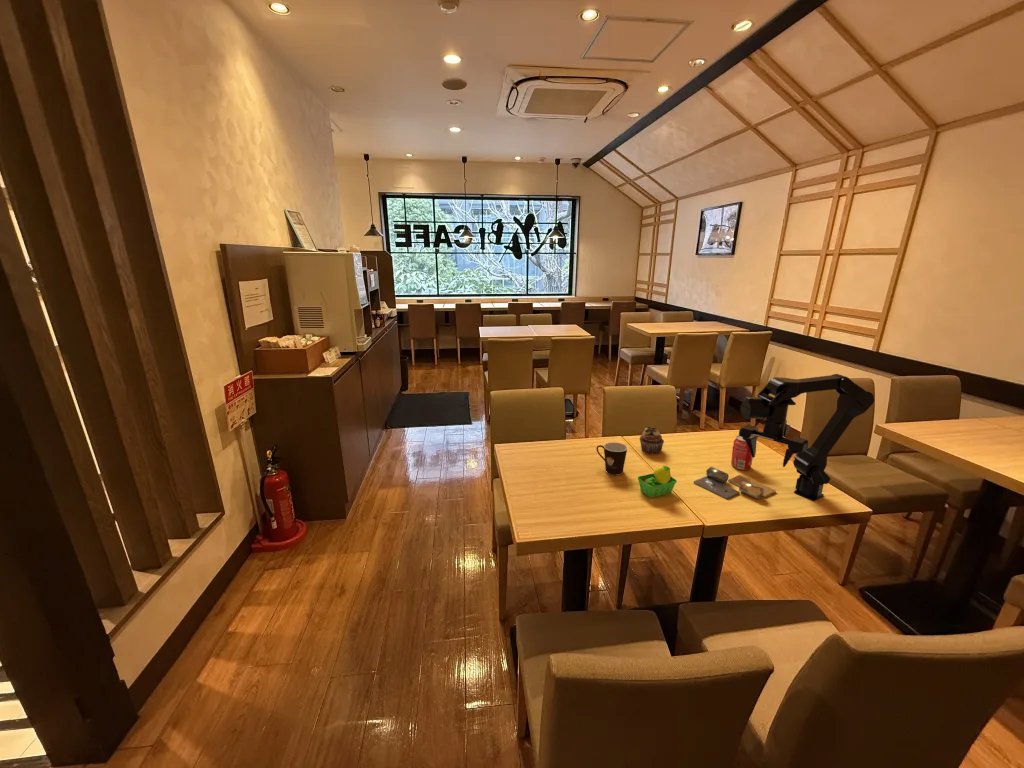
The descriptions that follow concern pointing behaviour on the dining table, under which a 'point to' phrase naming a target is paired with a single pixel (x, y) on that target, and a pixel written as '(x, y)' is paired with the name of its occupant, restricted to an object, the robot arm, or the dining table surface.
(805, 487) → the robot arm
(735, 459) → the soda can
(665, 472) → the fruit basket
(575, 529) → the dining table surface
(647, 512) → the dining table surface
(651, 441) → the cupcake
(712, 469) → the steel leaf
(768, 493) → the brass leaf
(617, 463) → the coffee mug
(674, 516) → the dining table surface
